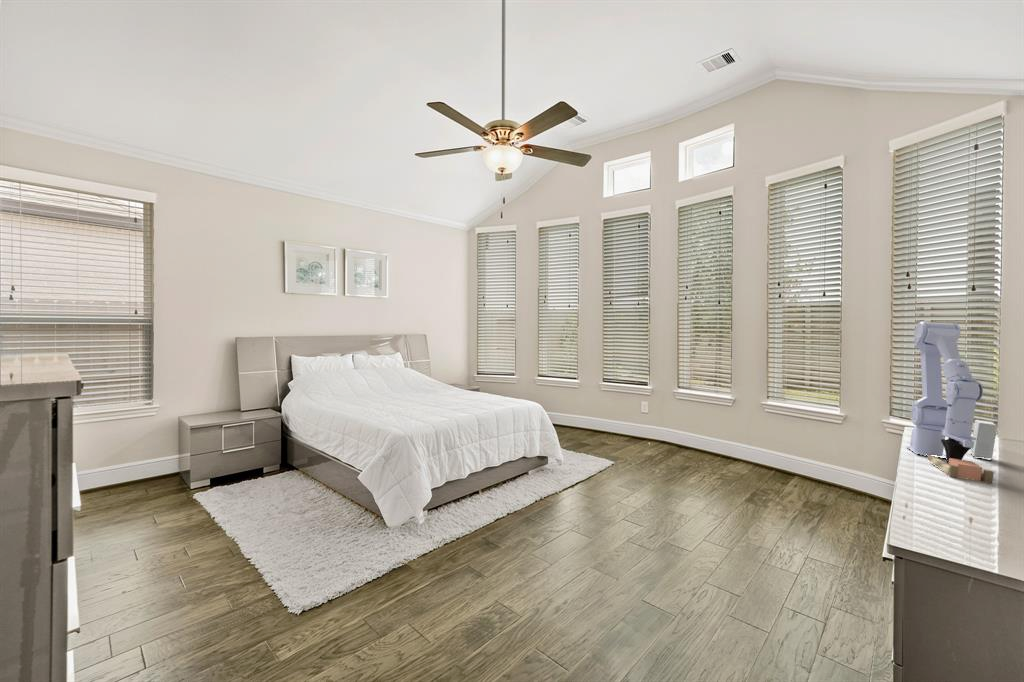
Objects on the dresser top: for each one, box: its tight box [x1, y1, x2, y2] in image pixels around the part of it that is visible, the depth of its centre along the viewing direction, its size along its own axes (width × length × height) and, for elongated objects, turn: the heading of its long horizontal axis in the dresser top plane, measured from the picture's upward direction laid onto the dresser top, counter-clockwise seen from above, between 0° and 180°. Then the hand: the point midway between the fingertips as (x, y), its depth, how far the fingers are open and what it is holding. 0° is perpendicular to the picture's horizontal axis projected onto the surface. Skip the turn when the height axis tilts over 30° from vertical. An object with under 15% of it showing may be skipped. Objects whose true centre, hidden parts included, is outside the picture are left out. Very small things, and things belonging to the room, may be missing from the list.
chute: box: [926, 455, 995, 484], centre depth 131 cm, size 15×9×3 cm, turn 155°
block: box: [947, 458, 983, 482], centre depth 128 cm, size 6×5×4 cm
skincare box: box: [969, 419, 998, 459], centre depth 146 cm, size 6×4×12 cm
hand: (953, 464), depth 134 cm, fingers closed
